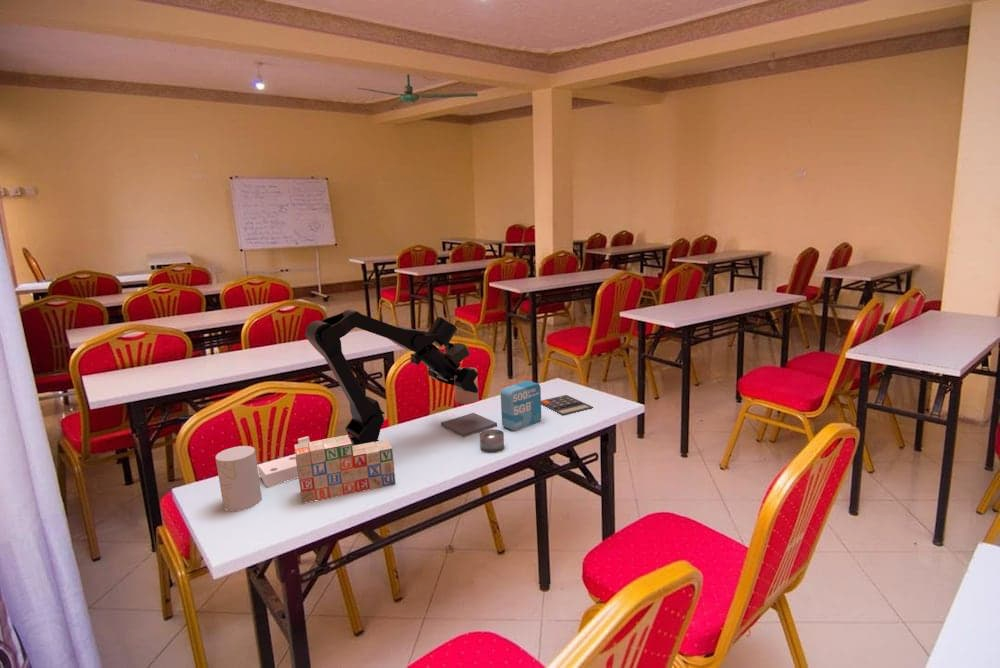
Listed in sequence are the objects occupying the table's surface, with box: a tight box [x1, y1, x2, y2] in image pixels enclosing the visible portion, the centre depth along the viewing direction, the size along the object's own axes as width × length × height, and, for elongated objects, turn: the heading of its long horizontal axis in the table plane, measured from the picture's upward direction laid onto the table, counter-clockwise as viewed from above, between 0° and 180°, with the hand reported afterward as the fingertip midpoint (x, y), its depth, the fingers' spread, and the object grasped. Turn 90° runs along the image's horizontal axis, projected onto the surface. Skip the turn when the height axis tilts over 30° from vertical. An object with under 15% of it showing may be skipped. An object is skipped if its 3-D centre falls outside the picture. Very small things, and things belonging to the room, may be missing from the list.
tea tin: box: [479, 428, 505, 454], centre depth 158 cm, size 6×6×4 cm
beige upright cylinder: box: [215, 445, 263, 512], centre depth 134 cm, size 8×8×12 cm
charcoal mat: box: [440, 412, 498, 438], centre depth 175 cm, size 12×12×1 cm
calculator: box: [541, 394, 594, 416], centre depth 189 cm, size 12×1×15 cm
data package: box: [500, 380, 542, 432], centre depth 173 cm, size 12×4×12 cm, turn 131°
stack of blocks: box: [294, 434, 396, 504], centre depth 138 cm, size 21×6×12 cm, turn 111°
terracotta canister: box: [453, 366, 479, 405], centre depth 172 cm, size 7×7×9 cm
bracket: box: [257, 435, 311, 488], centre depth 148 cm, size 13×7×8 cm, turn 126°
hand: (470, 388), depth 173 cm, fingers closed on terracotta canister, 7 cm apart
